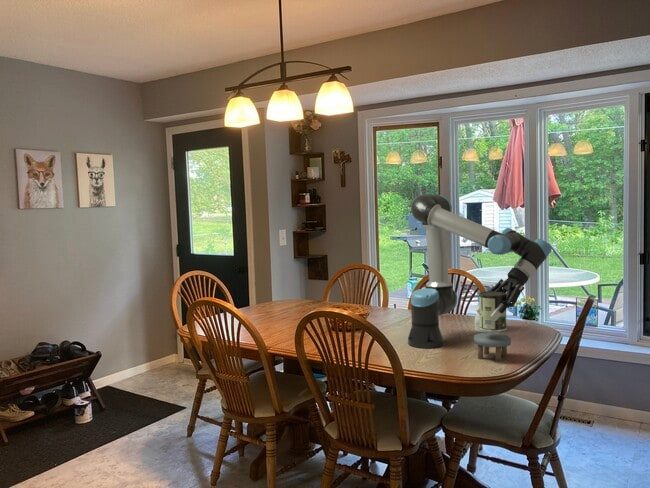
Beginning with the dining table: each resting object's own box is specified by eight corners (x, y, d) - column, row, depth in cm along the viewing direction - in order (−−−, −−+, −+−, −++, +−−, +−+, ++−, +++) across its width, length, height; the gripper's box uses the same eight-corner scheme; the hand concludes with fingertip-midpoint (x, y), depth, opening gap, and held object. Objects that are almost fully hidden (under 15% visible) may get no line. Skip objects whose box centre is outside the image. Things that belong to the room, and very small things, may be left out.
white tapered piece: (491, 334, 244) (491, 295, 242) (469, 329, 254) (468, 292, 253) (508, 329, 252) (508, 291, 250) (485, 324, 262) (485, 288, 260)
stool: (468, 359, 207) (468, 339, 207) (481, 350, 219) (481, 331, 218) (504, 364, 199) (504, 343, 198) (515, 355, 210) (515, 335, 210)
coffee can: (504, 325, 212) (504, 291, 211) (508, 332, 202) (508, 295, 201) (478, 325, 214) (477, 291, 213) (480, 331, 204) (479, 295, 203)
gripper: (545, 283, 199) (508, 328, 197) (510, 275, 221) (476, 315, 218) (533, 270, 197) (495, 315, 195) (498, 263, 219) (465, 304, 217)
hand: (485, 315), depth 207 cm, fingers closed on coffee can, 10 cm apart
